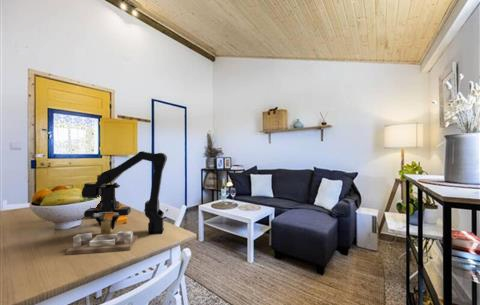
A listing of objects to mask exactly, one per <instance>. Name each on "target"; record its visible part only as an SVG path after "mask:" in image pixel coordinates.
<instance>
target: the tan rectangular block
mask: <svg viewBox="0 0 480 305" xmlns="http://www.w3.org/2000/svg"><path fill="white" fill-rule="evenodd" d="M115 230H116V226H115V227H114V229H112V217H107V218H105V219H104V220H102V221H101V227H100V235H106V234H113V232H114V231H115Z"/></svg>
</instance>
